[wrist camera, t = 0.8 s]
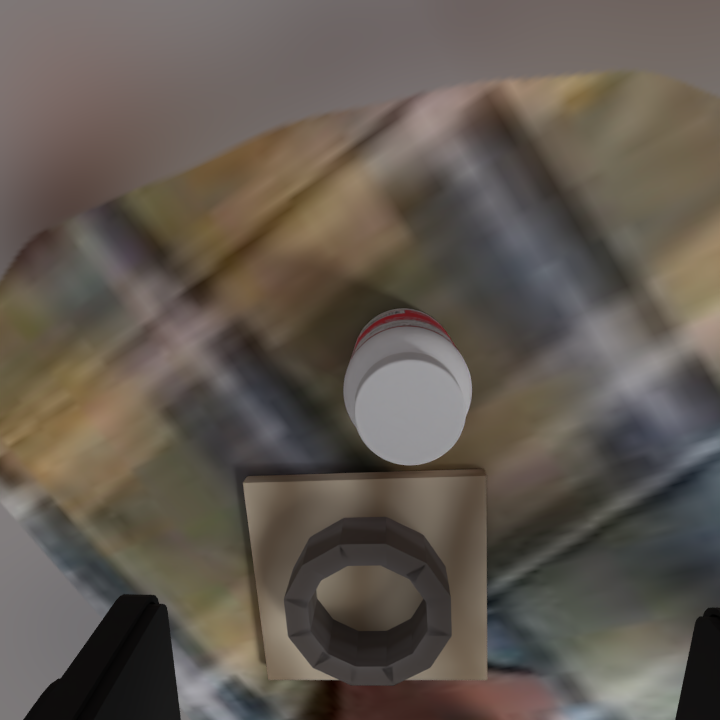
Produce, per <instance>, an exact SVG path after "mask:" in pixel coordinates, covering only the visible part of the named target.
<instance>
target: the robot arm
mask: <svg viewBox="0 0 720 720" xmlns="http://www.w3.org/2000/svg"><path fill="white" fill-rule="evenodd" d="M23 720H181V719H180V710H179V701H178V693H177V685H176V677H175V669H174V660H173V652H172V644H171V636H170V628H169V619H168V611H167V607H166V605H165V604H159V602H158V598H157V597H156V596H155V595H129V594H124V595H122V596H120V597H119V598H118V599H117V600H116V601H115V603H114V604H113V606H112V607H111V608H110V610H109V611H108V613H107V614H106V616H105V617H104V618H103V620H102V621H101V623H100V624H99V625H98V627H97V628H96V630H95V631H94V633H93V634H92V635H91V637H90V638H89V640H88V641H87V643H86V644H85V645H84V647H83V648H82V649H81V651H80V652H79V654H78V655H77V657H76V658H75V659H74V661H73V662H72V663H71V665H70V666H69V668H68V669H67V671H66V672H65V673H64V675H63V676H62V678H61V679H57V680H56V681H54V682H53V683H52V684H50V685H49V687H48V688H47V689H46V690H45V691H44V692H43V693H42V695H41V696H40V698H39V699H38V700H37V702H36V703H35V704H34V706H33V707H32V708H31V710H30V711H29V713H28V714H27V715H26V717H25V718H24V719H23ZM675 720H720V608H708V609H707V610H706V611H705V613H704V615H703V617H699V618H698V619H697V620H696V623H695V627H694V632H693V637H692V642H691V646H690V651H689V656H688V661H687V666H686V671H685V676H684V680H683V685H682V690H681V695H680V700H679V705H678V710H677V714H676V719H675Z"/></svg>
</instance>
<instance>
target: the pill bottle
mask: <svg viewBox="0 0 720 720" xmlns="http://www.w3.org/2000/svg"><path fill="white" fill-rule="evenodd" d="M343 393H344V401H345V406H346V409H347V412H348V415H349V417H350V419H351V421H352V422H353V424H354V425H355V427H356V428H357V431H358V433H359V435H360V437H361V439H362V440H363V442H364V443H365V444H366V446H367V447H368V448H369V449H370V450H371V451H372V452H374V453H375V454H376V455H377V456H379V457H381V458H382V459H384V460H387V461H389V462H392V463H395V464H400V465H420V464H424V463H428V462H431V461H433V460H435V459H437V458H439V457H441V456H442V455H444V454H445V453H446V452H447V451H449V450H450V449H451V448H452V447H453V445H454V444H455V443H456V441H457V440H458V439H459V437H460V435H461V432H462V430H463V427H464V424H465V418H466V415H467V413H468V410H469V407H470V403H471V398H472V382H471V377H470V372H469V369H468V367H467V365H466V363H465V361H464V358H463V357H462V355H461V353H460V352H459V350H458V349H457V348H456V346H455V345H454V343H453V341H452V340H451V338H450V337H449V335H448V334H447V332H446V331H445V330H444V328H443V327H442V326H441V325H440V324H439V323H438V322H437V321H436V320H435V319H434V318H432V317H431V316H429V315H428V314H426V313H423V312H421V311H418V310H414V309H408V308H400V309H393V310H389V311H386V312H384V313H381V314H379V315H378V316H376V317H375V318H373V319H372V320H371V321H370V322H369V323H368V324H367V325H366V326H365V327H364V328H363V329H362V331H361V333H360V334H359V336H358V338H357V341H356V344H355V346H354V350H353V353H352V356H351V359H350V362H349V365H348V368H347V370H346V374H345V379H344V389H343Z"/></svg>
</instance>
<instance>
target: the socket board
mask: <svg viewBox="0 0 720 720" xmlns="http://www.w3.org/2000/svg"><path fill="white" fill-rule="evenodd" d="M243 488H244V495H245V503H246V511H247V518H248V526H249V534H250V542H251V549H252V557H253V565H254V573H255V580H256V588H257V596H258V603H259V611H260V619H261V627H262V634H263V642H264V650H265V658H266V665H267V673H268V680H340V681H343V682H345V683H347V684H349V685H396V684H398V683H400V682H402V681H404V680H487V490H486V474H485V471H484V469H464V470H431V471H398V472H365V473H332V474H299V475H266V476H247V477H246V479H245V480H244V482H243Z"/></svg>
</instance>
